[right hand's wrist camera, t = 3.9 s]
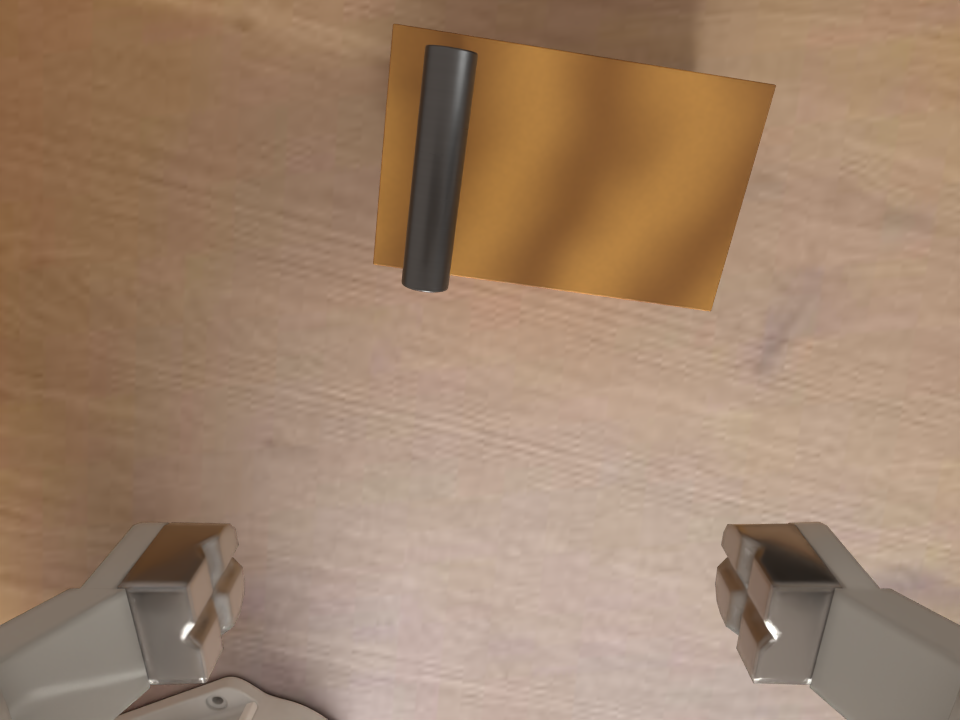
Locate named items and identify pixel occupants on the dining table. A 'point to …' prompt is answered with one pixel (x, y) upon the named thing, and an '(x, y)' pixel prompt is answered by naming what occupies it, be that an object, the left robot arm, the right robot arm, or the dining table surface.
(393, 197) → the lid
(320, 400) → the dining table surface
